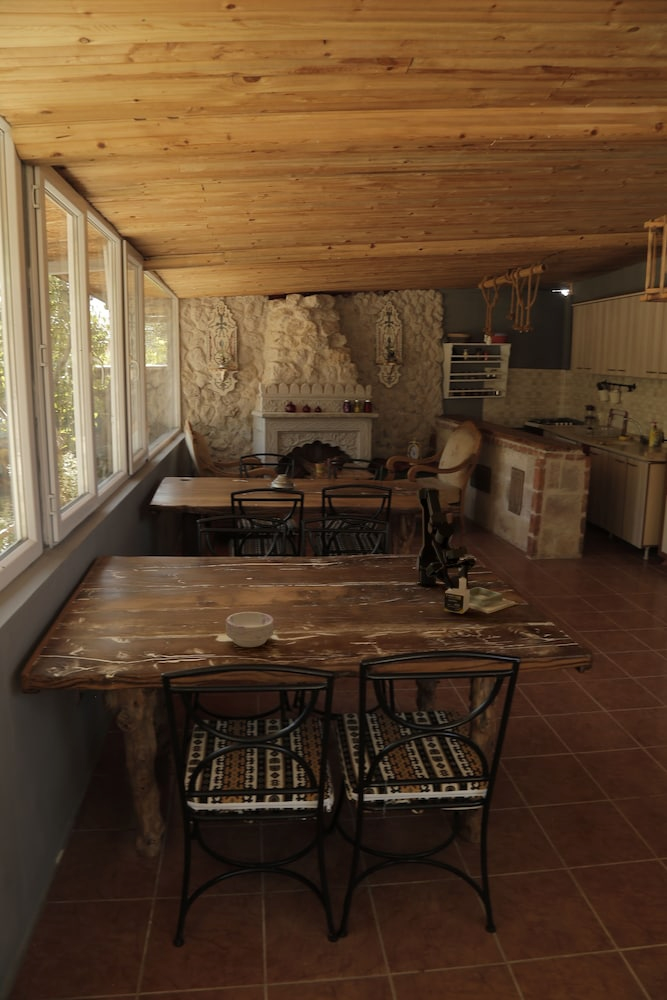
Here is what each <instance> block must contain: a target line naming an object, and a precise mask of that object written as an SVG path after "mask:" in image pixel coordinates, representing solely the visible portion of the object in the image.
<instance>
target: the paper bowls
mask: <svg viewBox="0 0 667 1000" xmlns="http://www.w3.org/2000/svg"><path fill="white" fill-rule="evenodd" d="M274 621H275V620H274V617H273V616H272V615H270V614H266V613H264V612H260V611H259V612H257V611H241V612H235V613H233V614H231V615H228V616H227V618H226V620H225V635H226V636H227V637H228V638H230V639H231V640H232V642H233V644H236V645H237V646H238V647H243V648H255V647H256V648H257V647H260V646H263V645H264V644H265V643H266V642H267V640H268V639H271V638H272V636H274V631H275V630H274V629H275V626H274V624H275V622H274Z"/></svg>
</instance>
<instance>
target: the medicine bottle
mask: <svg viewBox="0 0 667 1000" xmlns="http://www.w3.org/2000/svg"><path fill="white" fill-rule="evenodd" d="M449 578H450V580H451V582H452V585H453V589H450V588H449V587H448V589H447V590H445V592H444V602H443V603H444V606H443V610H444V612H450V613H451V612H452V613H457V614H464V613H465V612H467V610H468V609H469V596H470V590H469V589H467V587H466V578H464V577H461V576H459V575H453V576H451V577H449Z"/></svg>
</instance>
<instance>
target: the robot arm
mask: <svg viewBox="0 0 667 1000" xmlns="http://www.w3.org/2000/svg"><path fill="white" fill-rule="evenodd" d="M440 494H441V493H440V489H437V488H436V487H419V489H417V490H416V499H417V502H418V503H417V504H418V505H419V507H420V509H421V510H422V512H421V515H422V519H421V520H422V521H421V522H422V547H421V548H420V550H419V551H418V556H417V559H416V562H415V568H416V570H417V572H418V582H420V583H418V584H421V585H420V586H422V585H424V586H423V587H425V586H426V587H425V588H429V587H428V586H430V587H433V586H432V585H434V586H437V585H439V583H438V582H437V579H438V580H439V581H440V582H442V583H443V584H444V585H446V586H447V587H448V589H449V588H450V589H453V585H452V582H451V580H450V578H451V577H450V576H449V573H448V571H450V570H455V569H456V570H457V569H458V570H457V571H458V572H457V576H461V577H464V578H466V588H468V587H469V577H468V576H469V572H470V571H471V570H472V569H473V568H474V567H475V566H476V565H477V561H476V559H475V558H474V557H467V558H465V557H466V555H468V553H469V551H468V549H467V546H466V545H461V546H459V548H454V547H452V546H451V543H450V542H451V541H452V538H453V535H454V533H455V530H454V527H453V526H452V525H451V524H450V522H449V521H448V519H447V516H445V514H443V512H442V510H443V509H442V506H441V502H440V498H441V497H440ZM461 558H464V559H463V560H462V561H461V562H459V561H460V560H461ZM418 584H417V585H418ZM436 584H437V585H436Z"/></svg>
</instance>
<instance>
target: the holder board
mask: <svg viewBox="0 0 667 1000" xmlns="http://www.w3.org/2000/svg"><path fill="white" fill-rule="evenodd" d="M469 590H470V596H469V608H470V609H473V610H476V611H479V612H482V613H485V614H491V613H495V612H497V611H500V610H503V609H506V608H510V607H512V606H515V605H516V601H513V600H509V599H506V598H504V596H503V595H504V594H503V593H502V592H497V591H493V590H491V589H487V588H483V587H480V586H476V587H472V588H470V589H469ZM469 608H468V609H469Z"/></svg>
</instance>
